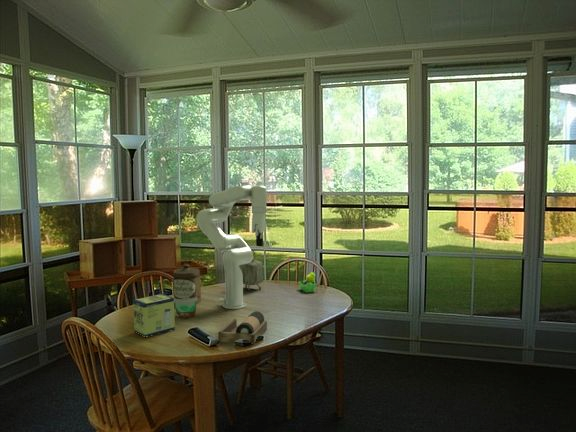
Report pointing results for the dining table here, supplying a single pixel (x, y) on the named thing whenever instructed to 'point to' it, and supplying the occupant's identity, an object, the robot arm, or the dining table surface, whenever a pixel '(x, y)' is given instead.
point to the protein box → (153, 315)
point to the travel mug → (251, 323)
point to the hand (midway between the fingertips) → (259, 246)
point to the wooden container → (187, 283)
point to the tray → (231, 336)
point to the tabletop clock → (252, 273)
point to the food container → (185, 307)
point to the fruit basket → (308, 283)
